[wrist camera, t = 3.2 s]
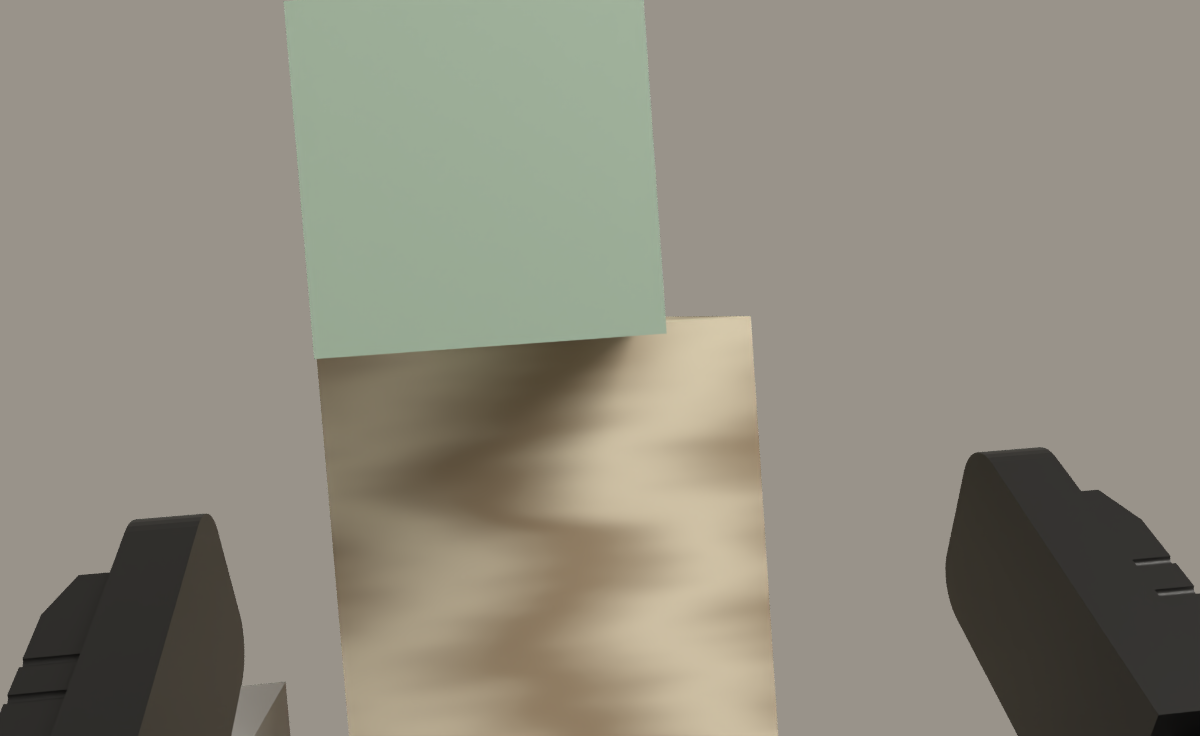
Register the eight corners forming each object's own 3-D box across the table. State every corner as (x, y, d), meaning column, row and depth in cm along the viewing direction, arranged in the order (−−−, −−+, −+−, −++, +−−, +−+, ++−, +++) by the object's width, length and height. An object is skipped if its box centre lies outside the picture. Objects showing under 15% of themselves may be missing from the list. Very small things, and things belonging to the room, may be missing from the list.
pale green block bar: (666, 333, 16) (640, -40, 16) (314, 358, 16) (282, -13, 16) (621, 319, 42) (611, 179, 42) (488, 328, 42) (477, 189, 41)
